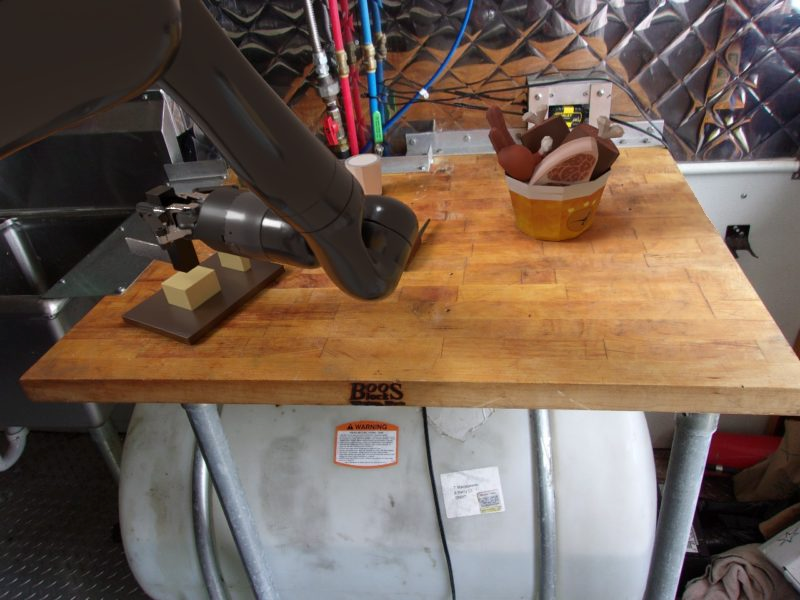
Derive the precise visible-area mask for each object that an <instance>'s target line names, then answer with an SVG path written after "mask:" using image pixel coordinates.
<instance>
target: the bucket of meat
mask: <svg viewBox="0 0 800 600" xmlns="http://www.w3.org/2000/svg"><path fill="white" fill-rule="evenodd" d="M548 111H549V106H548V104H540V105H538V106H537V107H536V109H535V112H533V111H527V112H525V113H524V114H523V116H521V120H522V122H525V123H530V124H533V126H531V127H530V128H529V129H527V130H526V131H524V132H523V134H521V135H520V136H519V140H520V143H521V144H517V143H516V141H515V140H514V138H513V136H512V135H511V132H510V131H509V129H508V126H507V124H506V120H505V117H504V114H503V111H502V109H501V107H499V106H498V105H492V106H490V108H488V109H486V110H485V119H486V120H487V122H488V124H489V125H490V127H491V128H490V130H489V132H488V135H487V137H488V139H489V141H490V143H491V145H492V147H493V150H494V152H495V154H496V157H497V163H498V165H499V166H500V167H501V169H502V170H504V176H505V182H506V185H507V188H508V189H507V190H508V192H509V193H508V194H509V197H510V201H511V205H512V209H513V214H514V219H515V223H516V227H517V229H519V231H521V232H522V233H523V234H526V235H527V236H529V237H531V238H533V239H534V240H536V241H537V240H538V241H550V242H560V241H564V240H570V239H575V238H577V237H578V236H580V235H581V234H582V233H583V232H585V231H586V230H587V229H589V228H590V227H591V226H592V225H593V223H594V220H595V217H596V214H597V211H598V208H599V206H600V204H601V203H600V202H601V199H602V197H603V194H604V191H605V189H606V185H607V183H608V179H609V178H610V176H611V172H612V166H613V165H614V163H615V162H616V161H617V159H618V158H619V157H620V155H621V153H620V149H619V148H618V146H617V145H616V144H615V142H614V141H613V140H612V139H620V138H623V136H624V135H625V133H626V132H625V130H624V128H623V126H622V127H621V126H620V125H619V124H612V125H611V119H610V118H609V117H607V116H606V115H599V116H598V117H597V118H596V122H597V123H596V124H597V127H595V126H593V125H592V124H589V123H587V122H578V123H577V124H576V125H575V126H574V127H573V128H572V129H571V130H570V128H569V125H568V124H567V122H566V120H565V119H564V117H563V115H562V114H555V115H552V116H549V117H548V118H546V116H547V114H548Z"/></svg>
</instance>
